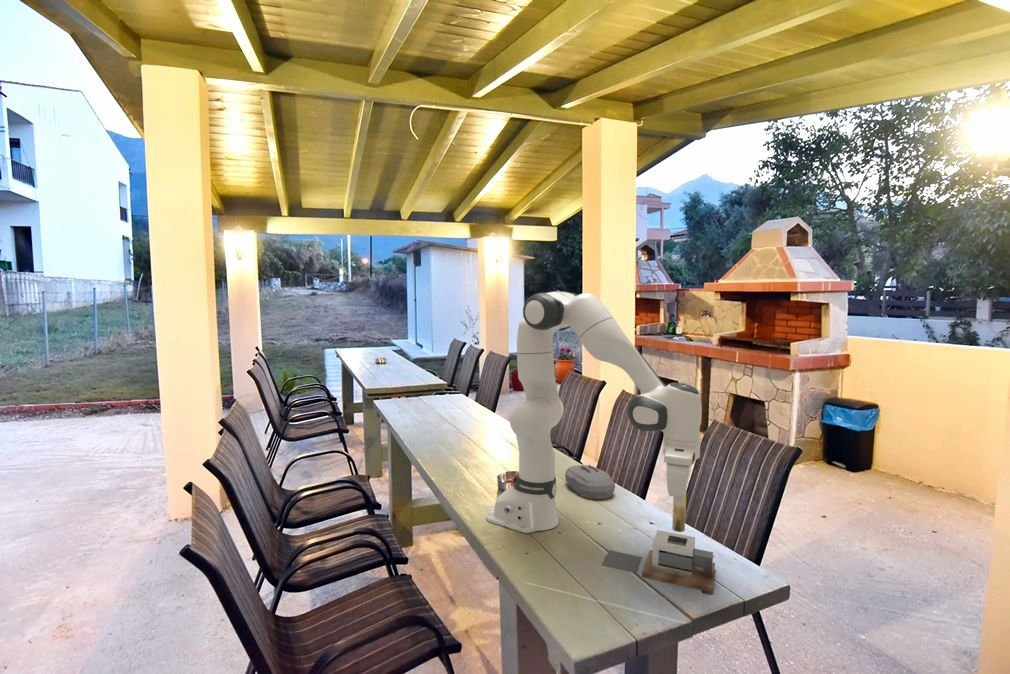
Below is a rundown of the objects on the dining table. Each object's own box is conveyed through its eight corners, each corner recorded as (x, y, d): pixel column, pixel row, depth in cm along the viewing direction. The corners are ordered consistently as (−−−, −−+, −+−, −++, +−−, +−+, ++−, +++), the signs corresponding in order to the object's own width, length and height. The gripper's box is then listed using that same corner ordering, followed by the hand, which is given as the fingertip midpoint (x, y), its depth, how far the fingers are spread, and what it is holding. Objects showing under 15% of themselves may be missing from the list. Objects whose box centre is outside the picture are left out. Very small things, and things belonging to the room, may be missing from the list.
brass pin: (671, 530, 132) (674, 468, 131) (672, 525, 135) (675, 465, 133) (684, 532, 131) (686, 470, 129) (685, 528, 133) (687, 466, 132)
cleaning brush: (559, 484, 196) (586, 504, 177) (559, 462, 195) (586, 480, 177) (594, 479, 201) (624, 498, 183) (595, 458, 201) (624, 475, 182)
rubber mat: (601, 567, 136) (601, 565, 136) (608, 551, 144) (608, 549, 144) (636, 574, 132) (636, 573, 132) (642, 558, 140) (642, 557, 140)
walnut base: (641, 578, 131) (642, 572, 131) (649, 555, 143) (649, 549, 142) (712, 594, 124) (713, 588, 124) (714, 568, 136) (714, 563, 136)
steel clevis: (651, 569, 132) (652, 542, 132) (656, 555, 139) (657, 530, 139) (711, 582, 126) (712, 554, 126) (712, 567, 134) (713, 540, 133)
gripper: (672, 436, 142) (670, 486, 143) (663, 457, 123) (661, 514, 124) (697, 439, 139) (695, 490, 140) (691, 461, 121) (689, 519, 122)
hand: (679, 502), depth 132 cm, fingers closed on brass pin, 3 cm apart
